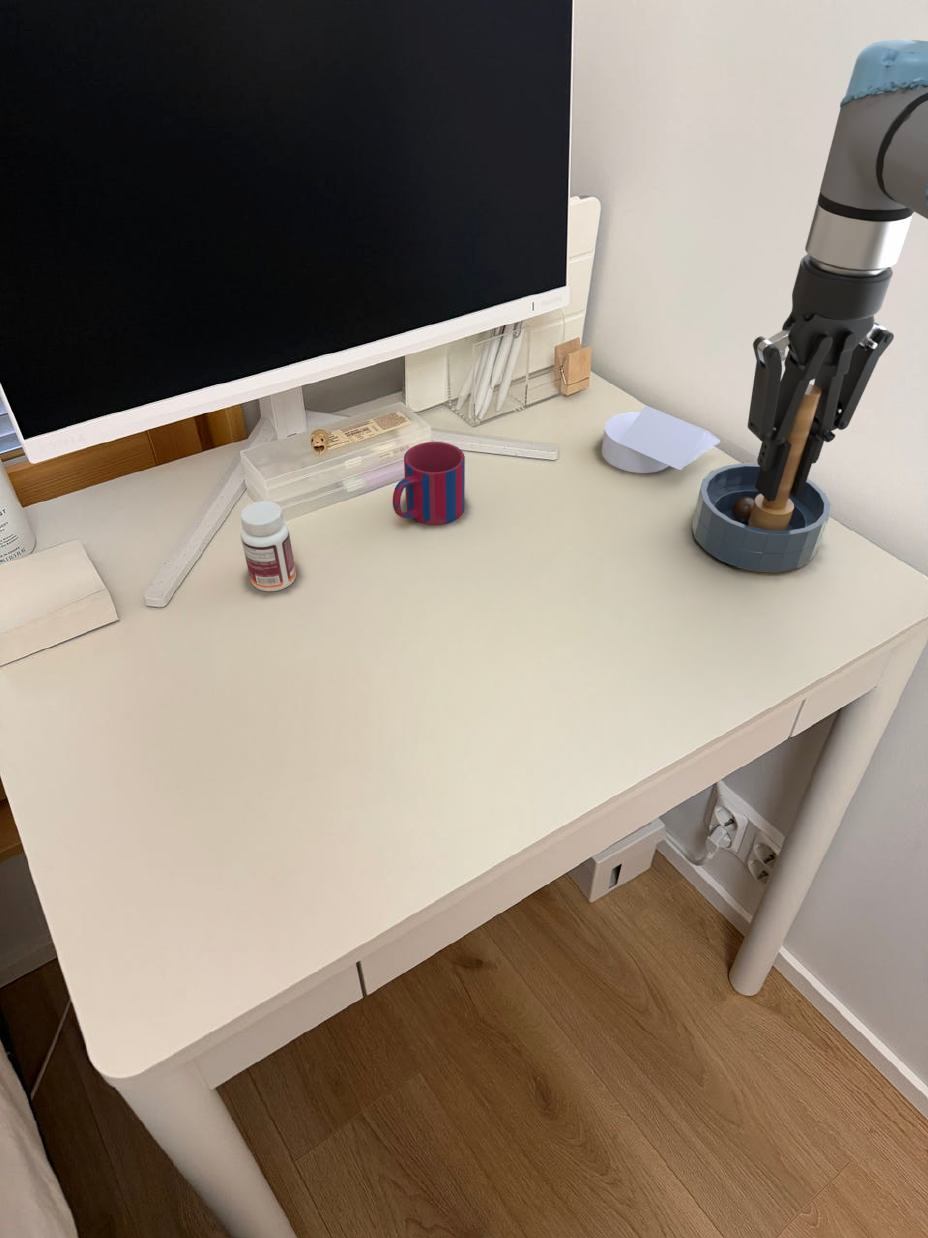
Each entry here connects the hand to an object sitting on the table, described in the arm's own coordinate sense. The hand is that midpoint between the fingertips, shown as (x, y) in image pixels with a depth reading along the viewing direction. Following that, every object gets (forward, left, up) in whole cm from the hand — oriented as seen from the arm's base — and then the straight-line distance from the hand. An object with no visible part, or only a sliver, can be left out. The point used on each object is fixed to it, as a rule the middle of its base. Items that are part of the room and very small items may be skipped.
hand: (778, 491), depth 89 cm
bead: (+4, 0, -5) cm, 7 cm away
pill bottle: (+9, +52, -8) cm, 53 cm away
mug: (+16, +34, -8) cm, 38 cm away
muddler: (0, 0, -5) cm, 4 cm away
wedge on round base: (+20, +4, -8) cm, 22 cm away
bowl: (+2, 0, -7) cm, 8 cm away
